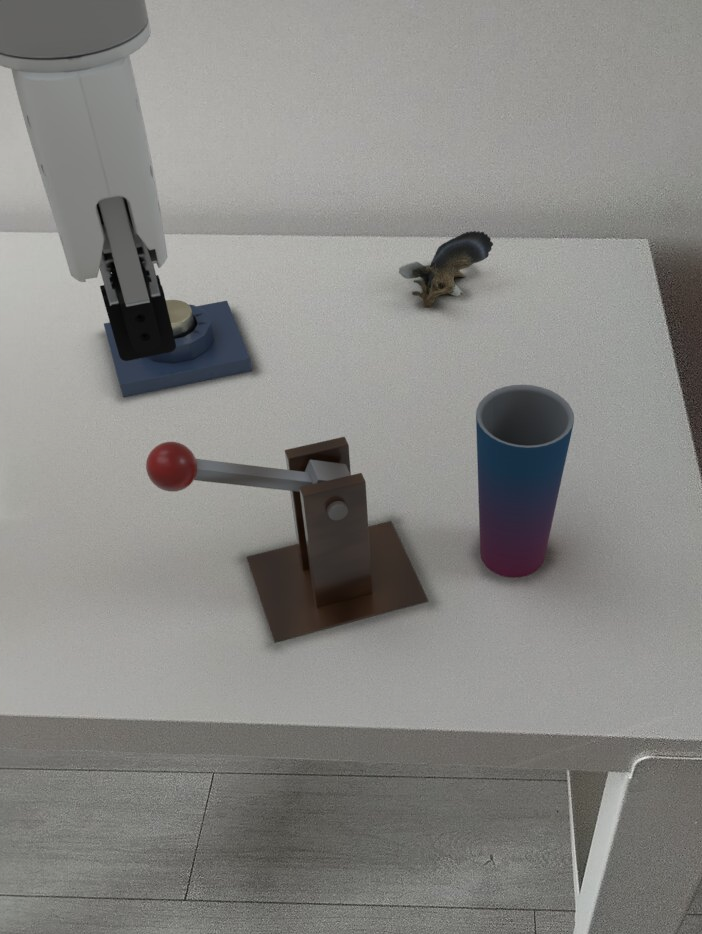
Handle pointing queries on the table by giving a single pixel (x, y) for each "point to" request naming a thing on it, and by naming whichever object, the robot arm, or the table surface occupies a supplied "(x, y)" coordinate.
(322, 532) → the bracket
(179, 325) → the button
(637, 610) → the table surface
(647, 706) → the table surface
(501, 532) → the cup
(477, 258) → the brown squirrel toy
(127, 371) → the box
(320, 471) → the lever
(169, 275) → the table surface
